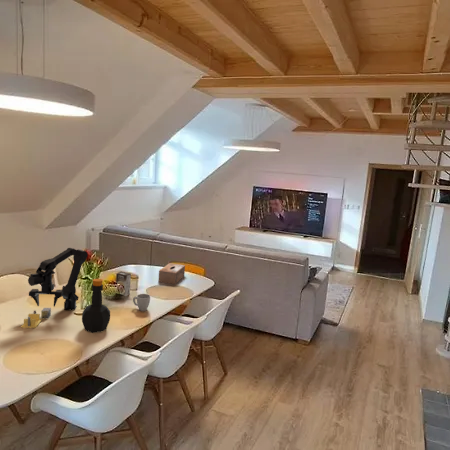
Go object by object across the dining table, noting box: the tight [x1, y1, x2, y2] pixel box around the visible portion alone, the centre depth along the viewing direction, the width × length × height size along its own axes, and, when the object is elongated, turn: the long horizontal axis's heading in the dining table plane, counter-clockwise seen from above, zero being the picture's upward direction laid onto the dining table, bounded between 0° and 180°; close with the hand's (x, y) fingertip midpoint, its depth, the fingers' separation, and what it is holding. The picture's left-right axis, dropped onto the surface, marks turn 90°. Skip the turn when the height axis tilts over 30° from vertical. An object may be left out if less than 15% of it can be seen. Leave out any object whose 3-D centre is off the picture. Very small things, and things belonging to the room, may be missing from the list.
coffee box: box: [115, 270, 132, 297], centre depth 283 cm, size 9×6×16 cm
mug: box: [132, 293, 151, 312], centre depth 258 cm, size 12×9×10 cm
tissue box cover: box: [157, 262, 186, 285], centre depth 329 cm, size 26×14×10 cm, turn 168°
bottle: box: [81, 278, 111, 334], centre depth 223 cm, size 16×16×30 cm
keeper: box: [20, 310, 43, 329], centre depth 223 cm, size 8×11×6 cm
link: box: [40, 307, 52, 320], centre depth 234 cm, size 4×5×5 cm
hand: (46, 306), depth 233 cm, fingers open, 9 cm apart
